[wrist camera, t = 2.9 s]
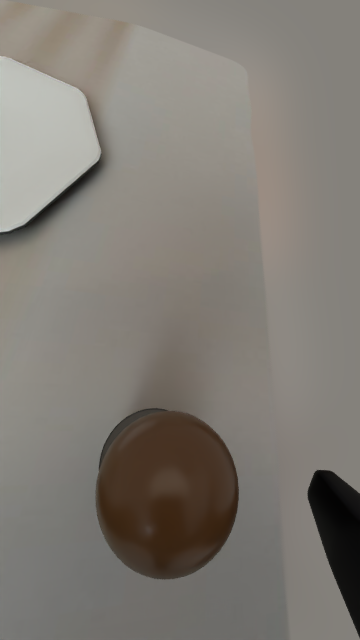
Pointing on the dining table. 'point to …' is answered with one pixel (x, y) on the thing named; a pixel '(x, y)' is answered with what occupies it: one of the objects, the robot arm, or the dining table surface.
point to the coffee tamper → (166, 493)
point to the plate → (40, 142)
